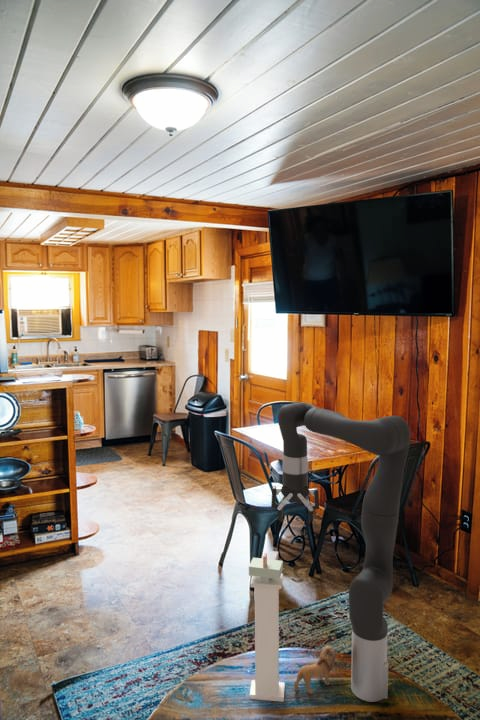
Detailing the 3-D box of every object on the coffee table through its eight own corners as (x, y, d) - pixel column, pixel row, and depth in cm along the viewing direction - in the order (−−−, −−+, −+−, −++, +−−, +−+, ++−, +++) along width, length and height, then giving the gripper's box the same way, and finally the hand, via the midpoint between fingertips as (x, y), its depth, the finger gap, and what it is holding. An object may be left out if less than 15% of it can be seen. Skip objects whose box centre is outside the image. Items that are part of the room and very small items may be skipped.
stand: (284, 685, 148) (284, 573, 145) (283, 702, 143) (283, 585, 139) (251, 683, 150) (250, 571, 146) (249, 699, 144) (248, 583, 140)
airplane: (288, 558, 152) (288, 534, 152) (279, 585, 138) (279, 558, 138) (260, 555, 154) (260, 531, 153) (248, 582, 140) (248, 555, 140)
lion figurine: (325, 668, 155) (325, 639, 154) (339, 678, 151) (340, 648, 150) (288, 693, 146) (288, 661, 145) (302, 704, 142) (302, 672, 141)
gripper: (319, 466, 165) (318, 517, 167) (272, 464, 167) (272, 515, 169) (319, 474, 158) (319, 527, 160) (270, 472, 159) (270, 525, 161)
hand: (295, 521), depth 164 cm, fingers open, 8 cm apart
